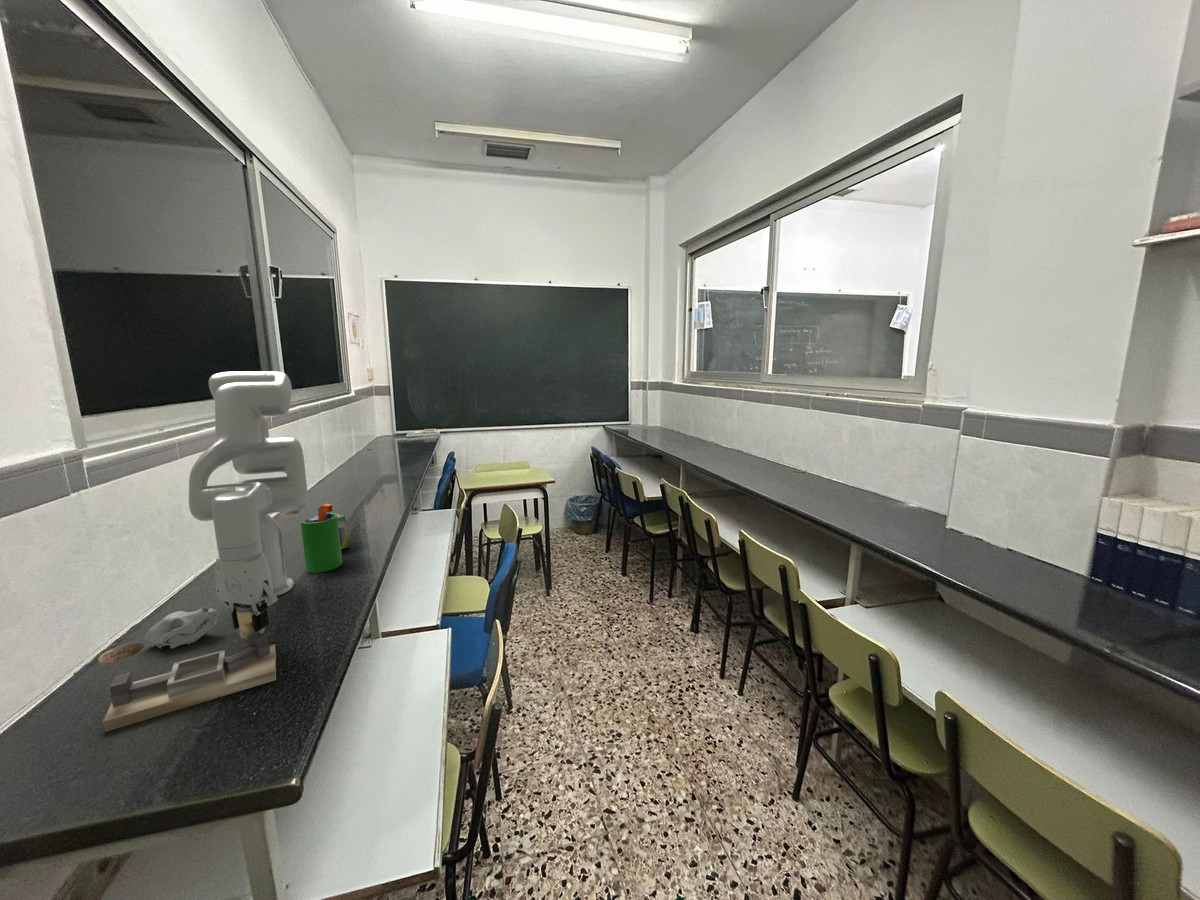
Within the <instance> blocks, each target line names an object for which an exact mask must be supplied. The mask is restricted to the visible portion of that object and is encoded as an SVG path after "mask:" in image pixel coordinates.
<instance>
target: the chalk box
mask: <svg viewBox="0 0 1200 900" xmlns="http://www.w3.org/2000/svg"><path fill="white" fill-rule="evenodd" d="M319 508H320V507H317V511H318V512H319ZM326 513H327V512H326ZM330 513H334V514H337V519H338V528H339V537H340V546H341V551H342V550H343V549H347V548H349V547H350V545H349V535H348V529H347V528H348V527H347V520H346V515H343V514H339V513H336V512H333V511H332V512H330ZM316 519H318V515H314V516H311V517H307V518H305V519H304V521H305V523H307V522H309V521H312V520H316Z"/></svg>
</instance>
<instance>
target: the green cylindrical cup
mask: <svg viewBox="0 0 1200 900" xmlns="http://www.w3.org/2000/svg"><path fill="white" fill-rule="evenodd" d="M318 508H319V511H318V513H317V514H318V519H316V520H312V521H309V522H307V523H306V522H304V521H302V522H300V527H301V536H302V544H303V545H302V546H303V551H304V552H303V553H304V561H305V568H306V573H309V572H311V574H317V573H318V574H319V573H324V572H329V571H332V570H335V569H337V568H339V567H340V566H342V565H343V557H342V550H341V546H340V537H339V528H338V519H337V514H338V513H336V514H334V513H335V512H333V510H334V509H333V504H331V503H324V504H322V505H320V506H319V507H318ZM326 512H327V513H326ZM331 512H332V513H331Z"/></svg>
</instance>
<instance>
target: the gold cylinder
mask: <svg viewBox="0 0 1200 900" xmlns="http://www.w3.org/2000/svg"><path fill="white" fill-rule="evenodd" d="M258 606H259V607H260V606H261V601H260V602H259V603H258ZM236 612H237V618H238V625H239V628H238V630H239V632H238V633H239V637H240V638H241V639H247V636H250V635H252V634H254V633H256V632H255V631H254V628H253V621H252V615H254V612H253V609H252V606H251V605H245V604H237V605H236ZM265 628H266V627H264V628H263V629H261V630H260V631H258V632H259V633H261V634H263V633H264V632H265V630H266V629H265Z"/></svg>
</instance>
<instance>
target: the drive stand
mask: <svg viewBox="0 0 1200 900" xmlns="http://www.w3.org/2000/svg"><path fill="white" fill-rule="evenodd" d="M226 653H227V651H226V649H223V650H218V651H214V652H210V653H207V654H202V655H201V656H199V655H198V656H196V657H191V658H188V659H184V660H180V661H177V662H174V663H173V665H172V669H171V671H170V672H165V673H163V674H159V675H154V676H151V677H147V678H143V679H140V680H135V681H133V676H132V672H131V671H129V672H126V673H122V674H117V675H115V676H114V678H113V680H112V682H111V684H110V686H109V689H110V699H111V703H110V706H109V707H108V710H107V712H106V714H105V716H104V717H103V720H102V726H103V731H104V733H106V732H110V731H113V730H117V729H120V728H124V727H126V726H129V725H133V724H136V723H139V722H143V721H146V720H149V719H153V718H156V717H159V716H163V715H165V714H169V713H172V712H176V711H178V710H179V711H180V710H183V709H185V708H189V707H192V706H196V705H198V704H201V703H205V702H209V701H212V700H215V699H218V697H219V698H222V697H225V696H228V695H232V694H235V693H238V692H242V691H244V690H248V689H251V688H254V687H258V686H261V685H265V684H267V683H271V682H274V681H276V680H277V650H276V644H275V643H274V644H271V645H270V642H269V636H268V635H266V634H263V633H262V634H261V633H259V632H256V633H254V634H252V635H250V636H247V647H246V648H244V649H242V650H240V651H238V652H236V653H234V654H232V655H229V656H227V654H226Z"/></svg>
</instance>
